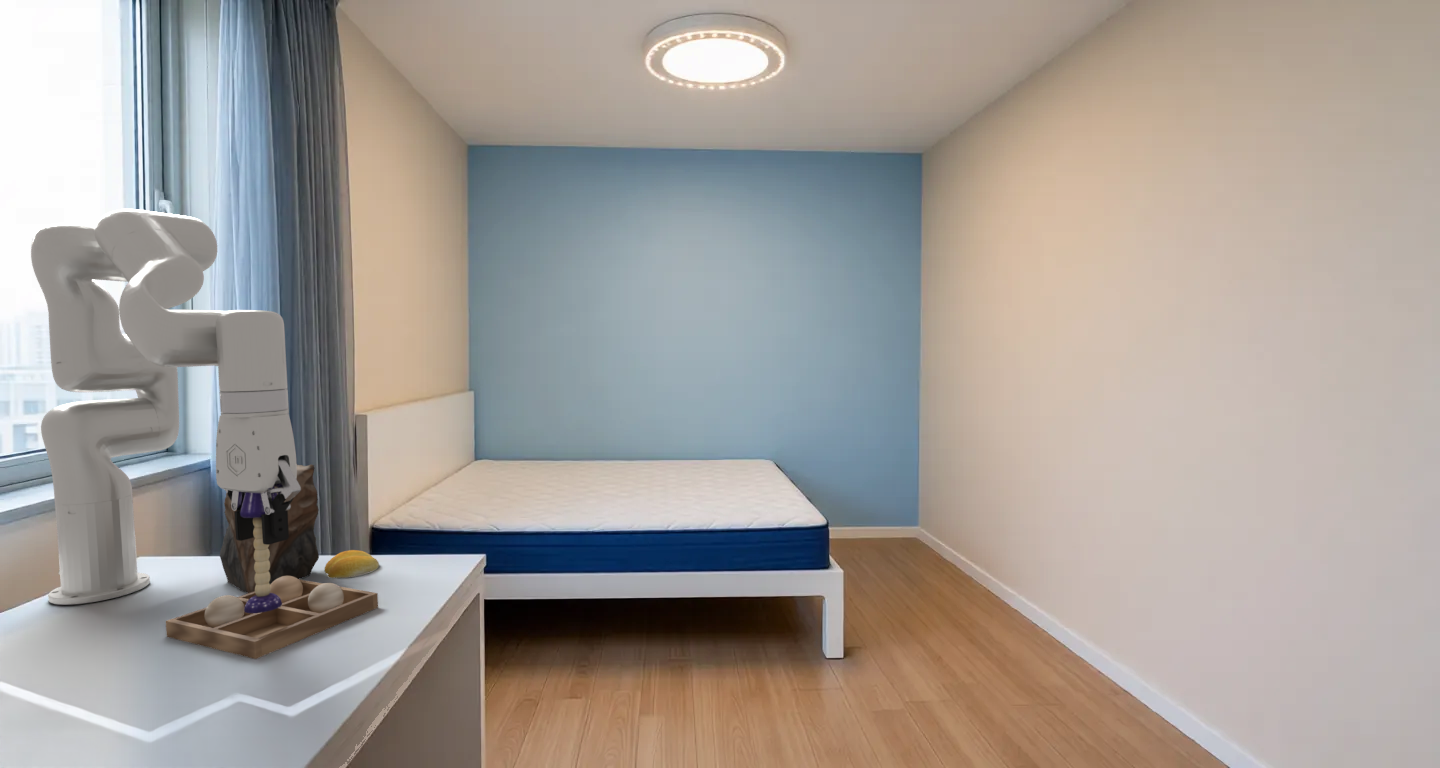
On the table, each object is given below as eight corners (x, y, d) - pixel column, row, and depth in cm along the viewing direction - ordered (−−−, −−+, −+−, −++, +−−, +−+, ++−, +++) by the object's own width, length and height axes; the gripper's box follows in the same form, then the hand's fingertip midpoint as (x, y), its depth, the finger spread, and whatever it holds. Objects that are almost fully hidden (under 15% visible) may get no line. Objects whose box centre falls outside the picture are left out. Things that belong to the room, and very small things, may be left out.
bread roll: (332, 586, 118) (331, 563, 118) (321, 574, 125) (320, 552, 125) (385, 575, 123) (384, 553, 123) (371, 563, 130) (370, 542, 130)
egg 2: (261, 609, 105) (259, 579, 105) (290, 599, 110) (288, 570, 109) (281, 614, 104) (280, 583, 103) (310, 603, 108) (309, 573, 107)
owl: (218, 584, 119) (211, 467, 118) (299, 565, 129) (293, 457, 128) (247, 600, 112) (240, 475, 110) (331, 578, 122) (325, 463, 120)
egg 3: (301, 618, 102) (299, 586, 102) (329, 606, 106) (328, 576, 106) (323, 622, 100) (321, 590, 100) (351, 611, 104) (350, 580, 104)
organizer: (167, 642, 96) (165, 620, 96) (294, 596, 113) (293, 578, 113) (256, 665, 89) (254, 641, 89) (378, 612, 106) (377, 593, 105)
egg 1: (197, 632, 97) (195, 599, 97) (232, 620, 101) (230, 588, 101) (219, 637, 95) (217, 604, 95) (253, 624, 100) (251, 592, 99)
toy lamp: (258, 601, 97) (251, 481, 96) (293, 600, 97) (287, 480, 96) (237, 615, 92) (229, 488, 91) (274, 613, 92) (267, 487, 92)
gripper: (184, 405, 93) (192, 541, 94) (270, 408, 86) (278, 554, 87) (242, 400, 100) (249, 527, 101) (325, 402, 93) (332, 538, 94)
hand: (262, 538), depth 94 cm, fingers closed on toy lamp, 4 cm apart
